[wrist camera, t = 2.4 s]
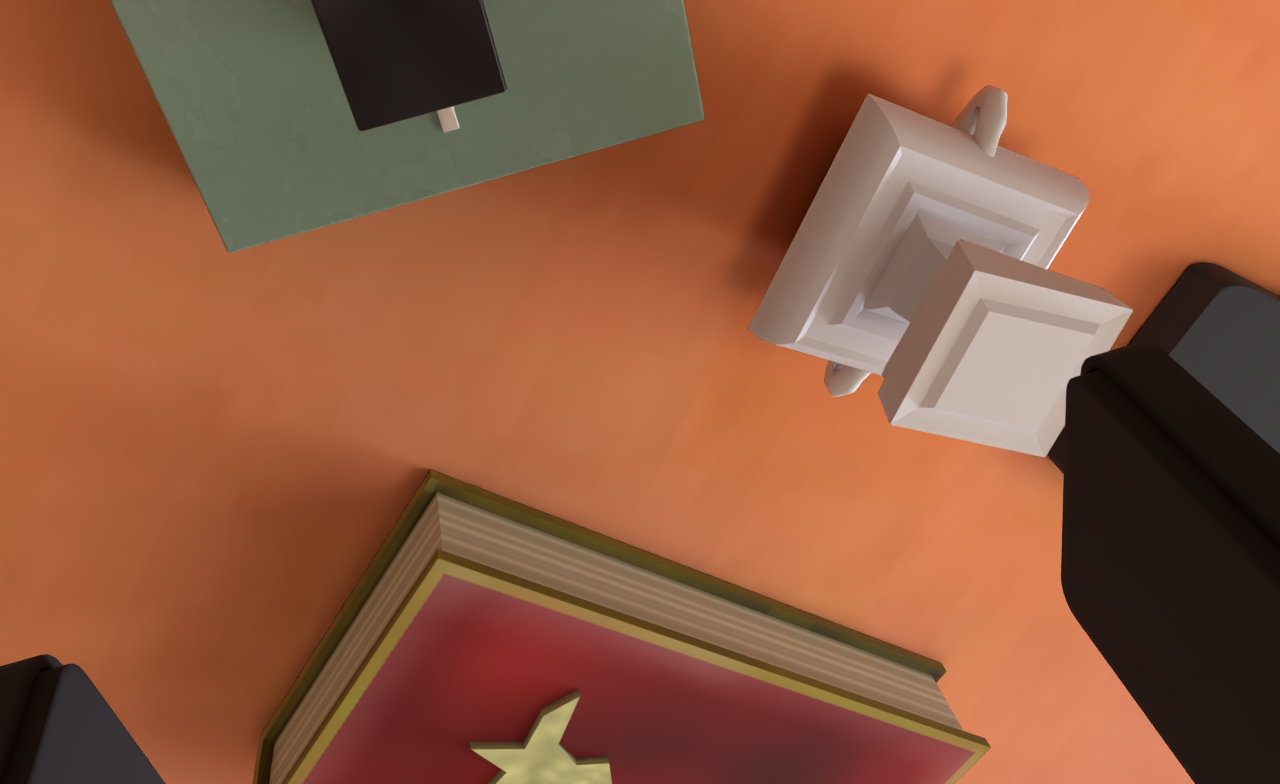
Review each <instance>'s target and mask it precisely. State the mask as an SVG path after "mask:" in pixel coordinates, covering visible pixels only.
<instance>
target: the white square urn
mask: <svg viewBox="0 0 1280 784" xmlns="http://www.w3.org/2000/svg"><path fill="white" fill-rule="evenodd" d="M1006 118H1007V94H1006V92H1004V91H1003V90H1000V89H998V88H996V87H993V86H986V87H984V88H983V89H982V90H980V91H979V92H978V93H977V94H976V95H974V96H973V98H972V99H971V100H970V101H969V103H968V104H967V105H966V107H965V108H964V110H963V111H962V112H961V114H960V115H959V117H958V118H957V119H956V121H955V122H954V124H953V125H952V127H951V126H948V125H946V124H943V123H941V122H938V121H936V120H933V119H931V118H928V117H926V116H923V115H921V114H919V113H916V112H914V111H911V110H909V109H906V108H904V107H901V106H899V105H896V104H894V103H891V102H889V101H886V100H884V99H881V98H879V97H876V96H874V95H871V94H869V93H868V94H867V96H866V98H865V100H864V102H863V104H862V106H861V108H860V110H859V112H858V114H857V116H856V118H855V120H854V122H853V123H852V125H851V127H850V129H849V131H848V133H847V135H846V137H845V139H844V141H843V143H842V145H841V147H840V149H839V151H838V153H837V155H836V157H835V159H834V161H833V163H832V165H831V167H830V168H829V170H828V172H827V174H826V176H825V178H824V180H823V182H822V184H821V186H820V188H819V190H818V192H817V194H816V196H815V198H814V200H813V202H812V204H811V206H810V208H809V210H808V212H807V214H806V215H805V217H804V219H803V221H802V223H801V225H800V227H799V229H798V231H797V233H796V235H795V237H794V239H793V241H792V243H791V245H790V247H789V249H788V251H787V253H786V255H785V257H784V259H783V260H782V262H781V264H780V266H779V268H778V270H777V272H776V274H775V276H774V278H773V280H772V282H771V284H770V286H769V288H768V290H767V292H766V294H765V296H764V298H763V300H762V302H761V304H760V305H759V307H758V309H757V312H756V314H755V315H754V317H753V319H752V321H751V323H750V325H749V327H748V329H749V330H750V331H751V332H752V333H753V334H754V335H755V336H756V337H757V338H759V339H762V340H764V341H767V342H770V343H772V344H775V345H779V346H782V347H786V348H789V349H792V350H796V351H799V352H803V353H806V354H810V355H813V356H816V357H820V358H823V359H827V360H829V361H828V364H827V367H826V373H825V377H824V382H825V384H826V386H827V388H828V391H829V393H830V394H831V395H832V396H834V397H838V396H842V395H846V394H850V393H853V392H854V391H855V390H856V389H857V388H858V387H859V385H860V384H861V382H862V381H863V380H864V379H865V378H866V377H867V376H868V375H869V374H871V373H875V374H878V375H881V376H883V377H884V379H885V380H884V382H883V384H882V386H881V388H880V390H879V392H878V395H879V397H880V400H881V402H882V405H883V408H884V410H885V413H886V416H887V418H888V421H889V423H890V425H894V426H899V427H904V428H908V429H913V430H918V431H922V432H927V433H932V434H937V435H941V436H946V437H951V438H956V439H960V440H965V441H970V442H974V443H979V444H984V445H989V446H993V447H998V448H1003V449H1008V450H1012V451H1017V452H1022V453H1026V454H1031V455H1036V456H1041V457H1046V455H1047V454H1048V452H1049V450H1050V449H1051V447H1052V445H1053V444H1054V442H1055V440H1056V439H1057V437H1058V435H1059V434H1060V432H1061V430H1062V429H1063V427H1064V425H1065V411H1066V388H1067V383H1068V382H1069V380H1070V379H1071V378H1073V377H1076V376H1080V373H1081V366H1082V364H1083V362H1084V361H1085V359H1087V358H1088V357H1090V356H1093V355H1097V354H1100V353H1104V352H1107V351H1109V350H1110V349H1111V347H1112V345H1113V343H1114V342H1115V340H1116V338H1117V337H1118V335H1119V333H1120V332H1121V330H1122V328H1123V327H1124V325H1125V323H1126V322H1127V320H1128V318H1129V317H1130V315H1131V313H1132V312H1133V309H1132V308H1130V307H1129V306H1128V305H1126V304H1125V303H1123V302H1122V301H1120V300H1119V299H1118V298H1116V297H1115V296H1113V295H1112V294H1111V293H1109V292H1108V291H1106V290H1105V289H1103V288H1101V287H1098V286H1095V285H1092V284H1089V283H1086V282H1083V281H1080V280H1077V279H1074V278H1071V277H1068V276H1065V275H1062V274H1059V273H1056V272H1053V271H1050V270H1047V269H1048V267H1049V265H1050V264H1051V262H1052V261H1053V259H1054V258H1055V256H1056V254H1057V253H1058V251H1059V250H1060V248H1061V246H1062V245H1063V243H1064V242H1065V240H1066V238H1067V237H1068V235H1069V234H1070V232H1071V230H1072V229H1073V227H1074V226H1075V224H1076V223H1077V221H1078V219H1079V218H1080V216H1081V215H1082V213H1083V211H1084V210H1085V208H1086V207H1087V205H1088V203H1089V191H1088V188H1087V187H1086V186H1085V185H1084V184H1083V182H1082V181H1081V179H1080V178H1078V177H1075V176H1073V175H1070V174H1068V173H1065V172H1063V171H1060V170H1058V169H1055V168H1053V167H1050V166H1048V165H1045V164H1043V163H1040V162H1038V161H1035V160H1033V159H1030V158H1028V157H1025V156H1023V155H1020V154H1018V153H1015V152H1013V151H1010V150H1008V149H1005V148H1003V147H1001V146H998V142H999V138H1000V136H1001V134H1002V132H1003V129H1004V127H1005V125H1006ZM973 134H974V135H973Z"/></svg>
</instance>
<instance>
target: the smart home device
mask: <svg viewBox="0 0 1280 784" xmlns="http://www.w3.org/2000/svg"><path fill="white" fill-rule="evenodd" d="M1143 341H1148V342H1153V343H1154V344H1156V345H1157V346H1159V347H1160V348H1162V349H1163V350H1164V351H1165V352H1166V353H1167V354H1168V355H1169V356H1170V357H1172V358H1173V359H1174V360H1175V361H1176V362H1177V363H1178V364H1179V365H1181V366H1182V367H1183V368H1184V369H1185V370H1186V371H1187V372H1188V373H1190V374H1191V375H1192V376H1193V377H1194V378H1195V379H1196V380H1197V381H1198V382H1200V383H1201V384H1202V385H1203V386H1204V387H1205V388H1206V389H1207V390H1209V391H1210V392H1211V393H1212V394H1213V395H1214V396H1215V397H1216V398H1218V399H1219V400H1220V401H1221V402H1222V403H1223V404H1224V405H1225V406H1226V407H1228V408H1229V409H1230V410H1231V411H1232V412H1233V413H1234V414H1235V415H1237V416H1238V417H1239V418H1240V419H1241V420H1242V421H1243V422H1244V423H1246V424H1247V425H1248V426H1249V427H1250V428H1251V429H1252V430H1253V431H1254V432H1256V433H1257V434H1258V435H1259V436H1260V437H1261V438H1262V439H1263V440H1265V441H1266V442H1267V443H1268V444H1269V445H1270V446H1271V447H1272V448H1274V449H1275V450H1276V451H1277V452H1278V453H1280V296H1278V295H1276V294H1274V293H1272V292H1270V291H1268V290H1266V289H1264V288H1262V287H1261V286H1259V285H1257V284H1255V283H1253V282H1251V281H1249V280H1247V279H1245V278H1243V277H1241V276H1239V275H1238V274H1236V273H1234V272H1232V271H1230V270H1228V269H1226V268H1224V267H1221V266H1219V265H1215V264H1210V263H1198V264H1194V265H1192V266H1190V267H1189V268H1188V269H1187V271H1186V272H1185V273H1184V274H1183V276H1182V277H1181V278H1180V280H1179V281H1178V282H1177V283H1176V285H1175V286H1174V287H1173V289H1172V290H1171V291H1170V293H1169V294H1168V295H1167V296H1166V298H1165V299H1164V300H1163V302H1162V303H1161V304H1160V305H1159V307H1158V308H1157V309H1156V311H1155V312H1154V313H1153V314H1152V316H1151V317H1150V318H1149V320H1148V321H1147V322H1146V323H1145V325H1144V326H1143V327H1142V329H1141V330H1140V331H1139V332H1138V334H1137V335H1136V336H1135V338H1134V339H1133V340H1132V341H1131V343H1130V344H1129V345H1132V344H1136V343H1139V342H1143ZM1064 449H1065V428H1064V429H1063V430H1062V432H1061V433H1060V434H1059V435H1058V437H1057V439H1056V440H1055V442H1054V444H1053V445H1052V447H1051V449H1050V450H1049V452H1048V455H1049V457H1050V459H1051V460H1052V461H1053V462H1054V463H1055V465H1056V466H1057V467H1058V468H1059V469H1060V470H1061V472H1062V473H1063V474H1064Z"/></svg>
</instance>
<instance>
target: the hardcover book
mask: <svg viewBox="0 0 1280 784" xmlns="http://www.w3.org/2000/svg"><path fill="white" fill-rule="evenodd" d="M945 673H946V670H945V668H944V666H943V665H942V664H941V663H939V662H936V661H933V660H931V659H928V658H925V657H923V656H920V655H917V654H915V653H912V652H910V651H907V650H904V649H902V648H899V647H896V646H894V645H891V644H888V643H886V642H883V641H881V640H878V639H875V638H873V637H870V636H867V635H865V634H862V633H859V632H857V631H854V630H852V629H849V628H846V627H844V626H841V625H838V624H836V623H833V622H830V621H828V620H825V619H823V618H820V617H817V616H815V615H812V614H809V613H807V612H804V611H801V610H799V609H796V608H794V607H791V606H788V605H786V604H783V603H780V602H778V601H775V600H772V599H770V598H767V597H765V596H762V595H759V594H757V593H754V592H751V591H749V590H746V589H744V588H741V587H738V586H736V585H733V584H730V583H728V582H725V581H722V580H720V579H717V578H715V577H712V576H709V575H707V574H704V573H701V572H699V571H696V570H693V569H691V568H688V567H686V566H683V565H680V564H678V563H675V562H672V561H670V560H667V559H664V558H662V557H659V556H657V555H654V554H651V553H649V552H646V551H643V550H641V549H638V548H635V547H633V546H630V545H628V544H625V543H622V542H620V541H617V540H614V539H612V538H609V537H606V536H604V535H601V534H599V533H596V532H593V531H591V530H588V529H585V528H583V527H580V526H578V525H575V524H572V523H570V522H567V521H564V520H562V519H559V518H556V517H554V516H551V515H549V514H546V513H543V512H541V511H538V510H535V509H533V508H530V507H527V506H525V505H522V504H520V503H517V502H514V501H512V500H509V499H506V498H504V497H501V496H498V495H496V494H493V493H491V492H488V491H485V490H483V489H480V488H477V487H475V486H472V485H469V484H467V483H464V482H462V481H459V480H456V479H454V478H451V477H448V476H446V475H443V474H440V473H438V472H435V471H433V470H430V471H429V473H428V474H427V476H426V478H425V479H424V481H423V482H422V484H421V485H420V487H419V489H418V490H417V492H416V493H415V495H414V496H413V498H412V500H411V501H410V503H409V504H408V506H407V507H406V509H405V510H404V512H403V514H402V515H401V517H400V518H399V520H398V521H397V523H396V525H395V526H394V528H393V529H392V531H391V532H390V534H389V536H388V537H387V539H386V540H385V542H384V543H383V545H382V546H381V548H380V550H379V551H378V553H377V554H376V556H375V557H374V559H373V561H372V562H371V564H370V565H369V567H368V568H367V570H366V572H365V573H364V575H363V576H362V578H361V579H360V581H359V582H358V584H357V586H356V587H355V589H354V590H353V592H352V593H351V595H350V597H349V598H348V600H347V601H346V603H345V604H344V606H343V608H342V609H341V611H340V612H339V614H338V615H337V617H336V618H335V620H334V622H333V623H332V625H331V626H330V628H329V629H328V631H327V633H326V634H325V636H324V637H323V639H322V640H321V642H320V644H319V645H318V647H317V648H316V650H315V651H314V653H313V654H312V656H311V658H310V659H309V661H308V662H307V664H306V665H305V667H304V669H303V670H302V672H301V673H300V675H299V676H298V678H297V680H296V681H295V683H294V684H293V686H292V687H291V689H290V691H289V692H288V694H287V695H286V697H285V698H284V700H283V701H282V703H281V705H280V706H279V708H278V709H277V711H276V712H275V714H274V716H273V717H272V719H271V720H270V722H269V723H268V725H267V727H266V728H265V730H264V731H263V733H262V736H261V739H260V743H259V746H258V752H257V758H256V764H255V770H254V778H253V784H955V783H956V782H957V781H958V780H959V779H960V778H961V777H962V776H963V775H964V774H965V773H966V772H967V771H968V770H969V769H970V768H971V767H972V766H973V765H974V764H975V763H976V762H977V761H978V760H979V759H980V758H981V757H982V756H983V755H984V754H985V753H986V752H987V751H988V750H989V749H990V748H991V747H990V745H989V744H988V742H987V740H986V739H985V738H982V737H979V736H976V735H974V734H971V733H968V732H965V731H963V730H962V728H961V726H960V724H959V722H958V721H957V719H956V717H955V715H954V714H953V712H952V710H951V708H950V707H949V705H948V703H947V701H946V699H945V698H944V696H943V694H942V692H941V691H940V689H939V687H938V685H937V684H936V682H937V681H938V680H939V679H940V678H941V677H942V676H943V675H944V674H945Z"/></svg>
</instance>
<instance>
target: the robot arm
mask: <svg viewBox="0 0 1280 784" xmlns="http://www.w3.org/2000/svg"><path fill="white" fill-rule="evenodd" d="M1061 582H1062V588H1063V592H1064V595H1065V598H1066V601H1067V603H1068V606H1069V608H1070V610H1071V612H1072V613H1073V615H1074V616H1075V618H1076V619H1077V621H1078V622H1079V624H1080V625H1081V626H1082V628H1083V629H1084V630H1085V632H1086V633H1087V635H1088V636H1089V637H1090V639H1091V640H1092V642H1093V643H1094V644H1095V646H1096V647H1097V648H1098V650H1099V651H1100V653H1101V654H1102V655H1103V657H1104V658H1105V660H1106V661H1107V662H1108V664H1109V665H1110V666H1111V668H1112V669H1113V671H1114V672H1115V673H1116V675H1117V676H1118V678H1119V679H1120V680H1121V682H1122V683H1123V684H1124V686H1125V687H1126V689H1127V690H1128V691H1129V693H1130V694H1131V696H1132V697H1133V698H1134V700H1135V701H1136V702H1137V704H1138V705H1139V707H1140V708H1141V709H1142V711H1143V712H1144V714H1145V715H1146V716H1147V718H1148V719H1149V720H1150V722H1151V723H1152V725H1153V726H1154V727H1155V729H1156V730H1157V732H1158V733H1159V734H1160V736H1161V737H1162V738H1163V740H1164V741H1165V743H1166V744H1167V745H1168V747H1169V748H1170V750H1171V751H1172V752H1173V754H1174V755H1175V756H1176V758H1177V759H1178V761H1179V762H1180V763H1181V765H1182V766H1183V768H1184V769H1185V770H1186V772H1187V773H1188V774H1189V776H1190V777H1191V779H1192V780H1193V781H1194V783H1195V784H1280V453H1278V452H1277V451H1276V450H1275V449H1274V448H1272V447H1271V446H1270V445H1269V444H1268V443H1267V442H1266V441H1265V440H1263V439H1262V438H1261V437H1260V436H1259V435H1258V434H1257V433H1256V432H1254V431H1253V430H1252V429H1251V428H1250V427H1249V426H1248V425H1247V424H1246V423H1244V422H1243V421H1242V420H1241V419H1240V418H1239V417H1238V416H1237V415H1235V414H1234V413H1233V412H1232V411H1231V410H1230V409H1229V408H1228V407H1226V406H1225V405H1224V404H1223V403H1222V402H1221V401H1220V400H1219V399H1218V398H1216V397H1215V396H1214V395H1213V394H1212V393H1211V392H1210V391H1209V390H1207V389H1206V388H1205V387H1204V386H1203V385H1202V384H1201V383H1200V382H1198V381H1197V380H1196V379H1195V378H1194V377H1193V376H1192V375H1191V374H1190V373H1188V372H1187V371H1186V370H1185V369H1184V368H1183V367H1182V366H1181V365H1179V364H1178V363H1177V362H1176V361H1175V360H1174V359H1173V358H1172V357H1170V356H1169V355H1168V354H1167V353H1166V352H1165V351H1164V350H1163V349H1162V348H1160V347H1159V346H1157V345H1156V344H1154V343H1153V342H1148V341H1143V342H1139V343H1136V344H1132V345H1128V346H1125V347H1121V348H1118V349H1114V350H1111V351H1107V352H1104V353H1100V354H1097V355H1093V356H1090V357H1088V358H1087V359H1085V361H1084V362H1083V364H1082V366H1081V373H1080V376H1076V377H1073V378H1071V379H1070V380H1069V382H1068V383H1067V388H1066V411H1065V449H1064V487H1063V524H1062V562H1061ZM0 784H165V782H164V781H163V779H162V778H161V777H160V775H159V774H158V773H157V771H156V770H155V768H154V767H153V766H152V764H151V763H150V761H149V760H148V759H147V757H146V756H145V755H144V753H143V752H142V750H141V749H140V748H139V746H138V745H137V744H136V742H135V741H134V739H133V738H132V737H131V735H130V734H129V732H128V731H127V730H126V728H125V727H124V726H123V724H122V723H121V721H120V720H119V719H118V717H117V716H116V714H115V713H114V712H113V710H112V709H111V708H110V706H109V705H108V703H107V702H106V701H105V699H104V698H103V696H102V695H101V694H100V692H99V691H98V690H97V688H96V687H95V685H94V684H93V683H92V681H91V680H90V678H89V677H88V676H87V674H86V673H85V672H84V671H83V670H82V669H81V667H80V666H78V665H76V664H67V665H62V664H61V663H60V662H59V661H58V660H57V659H56V658H55V657H53V656H50V655H48V654H47V655H39V656H36V657H32V658H29V659H25V660H22V661H18V662H15V663H11V664H7V665H4V666H0Z"/></svg>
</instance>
